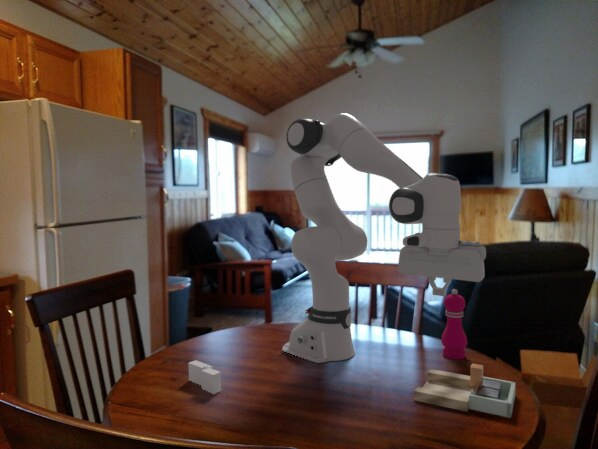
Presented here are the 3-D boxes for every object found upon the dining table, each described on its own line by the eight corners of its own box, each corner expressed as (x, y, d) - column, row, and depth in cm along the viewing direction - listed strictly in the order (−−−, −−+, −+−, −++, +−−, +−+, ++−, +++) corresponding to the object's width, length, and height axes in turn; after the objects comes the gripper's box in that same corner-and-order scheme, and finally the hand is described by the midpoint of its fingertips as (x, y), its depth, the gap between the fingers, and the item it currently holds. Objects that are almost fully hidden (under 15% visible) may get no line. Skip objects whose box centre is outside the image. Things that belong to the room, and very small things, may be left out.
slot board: (414, 404, 99) (414, 391, 99) (430, 379, 112) (430, 368, 112) (467, 416, 94) (467, 402, 93) (478, 389, 106) (478, 377, 106)
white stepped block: (182, 379, 116) (181, 358, 116) (225, 375, 119) (224, 354, 118) (178, 405, 102) (178, 381, 101) (228, 399, 104) (227, 376, 104)
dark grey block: (480, 398, 99) (480, 385, 99) (482, 391, 103) (482, 379, 103) (499, 402, 97) (499, 389, 97) (501, 395, 101) (501, 382, 101)
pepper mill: (469, 361, 125) (469, 292, 123) (442, 359, 126) (443, 291, 125) (464, 352, 132) (465, 286, 130) (439, 350, 133) (440, 286, 132)
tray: (468, 413, 95) (468, 395, 95) (477, 391, 105) (477, 375, 105) (510, 422, 91) (511, 403, 90) (515, 399, 101) (515, 382, 101)
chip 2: (477, 406, 95) (477, 393, 95) (479, 399, 99) (479, 386, 99) (496, 411, 93) (497, 397, 93) (498, 403, 97) (499, 390, 97)
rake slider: (467, 403, 96) (467, 372, 96) (474, 388, 104) (474, 358, 104) (479, 405, 95) (479, 374, 95) (484, 390, 103) (485, 360, 102)
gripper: (488, 241, 104) (486, 298, 105) (404, 236, 114) (403, 287, 115) (484, 243, 98) (482, 303, 99) (396, 238, 109) (395, 292, 110)
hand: (439, 295), depth 108 cm, fingers closed
